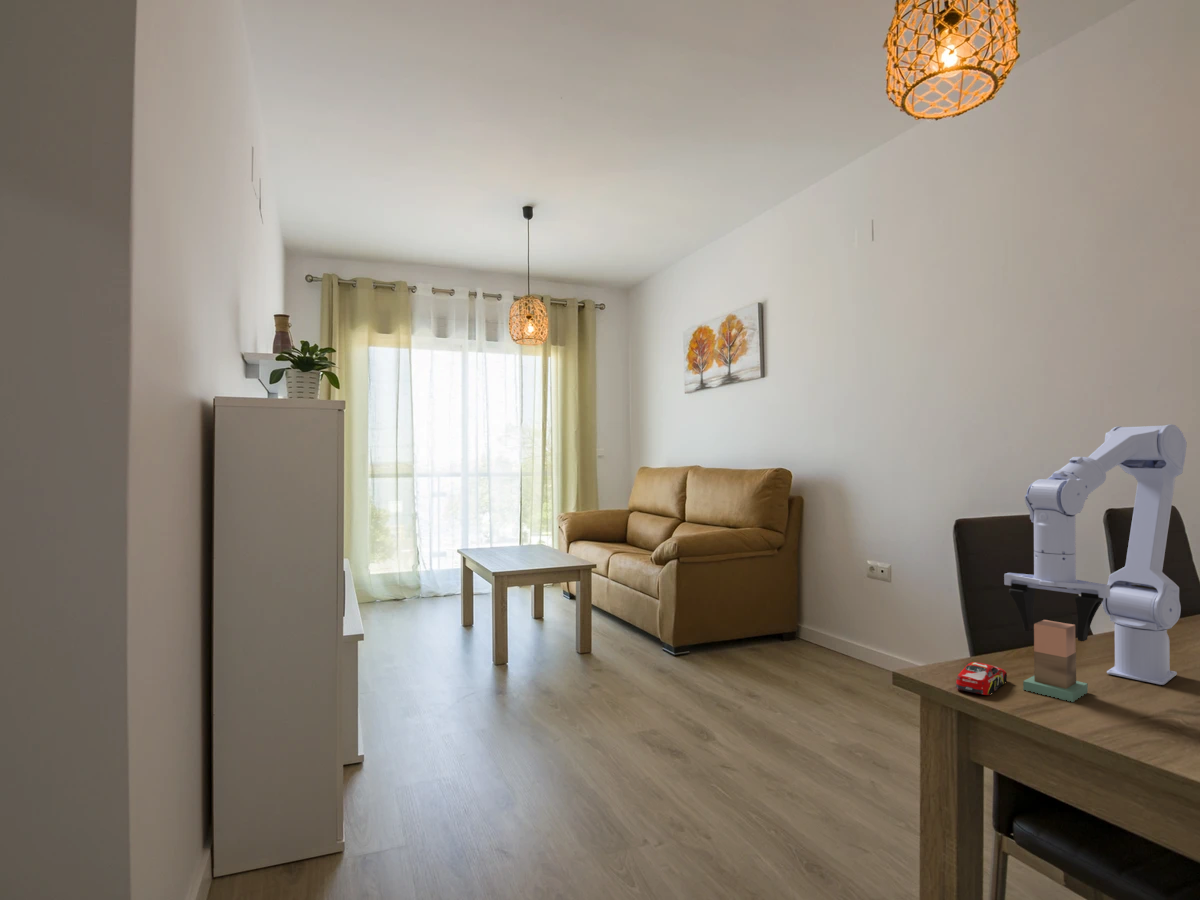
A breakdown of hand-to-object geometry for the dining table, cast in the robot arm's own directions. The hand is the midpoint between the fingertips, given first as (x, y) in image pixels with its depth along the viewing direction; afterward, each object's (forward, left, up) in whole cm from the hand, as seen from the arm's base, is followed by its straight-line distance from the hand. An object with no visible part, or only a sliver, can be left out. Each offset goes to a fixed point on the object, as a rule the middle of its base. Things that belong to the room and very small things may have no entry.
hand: (1055, 635), depth 111 cm
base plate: (0, 0, -9) cm, 9 cm away
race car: (+6, -9, -10) cm, 15 cm away
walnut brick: (0, 0, -8) cm, 8 cm away
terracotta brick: (0, 0, -3) cm, 3 cm away
